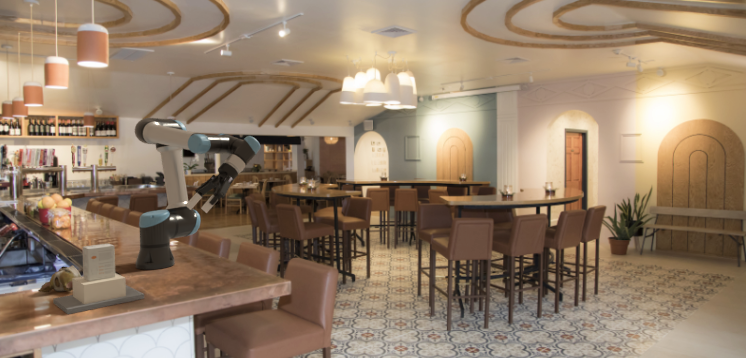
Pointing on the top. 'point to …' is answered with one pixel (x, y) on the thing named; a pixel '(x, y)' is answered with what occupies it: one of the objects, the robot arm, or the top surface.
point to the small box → (98, 262)
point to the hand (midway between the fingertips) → (195, 209)
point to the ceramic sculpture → (61, 280)
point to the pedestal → (97, 294)
